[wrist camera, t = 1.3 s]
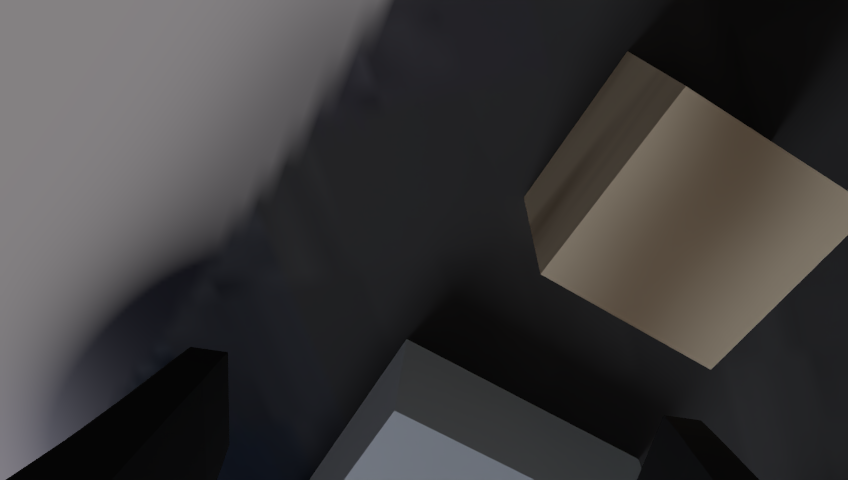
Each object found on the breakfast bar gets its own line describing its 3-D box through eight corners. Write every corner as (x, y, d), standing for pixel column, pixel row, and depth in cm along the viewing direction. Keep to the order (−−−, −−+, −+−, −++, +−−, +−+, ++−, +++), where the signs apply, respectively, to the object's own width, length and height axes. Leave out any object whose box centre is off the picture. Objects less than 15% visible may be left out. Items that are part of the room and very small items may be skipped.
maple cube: (768, 142, 17) (874, 208, 13) (654, 272, 19) (710, 369, 15) (626, 50, 16) (685, 86, 12) (523, 196, 18) (540, 274, 14)
